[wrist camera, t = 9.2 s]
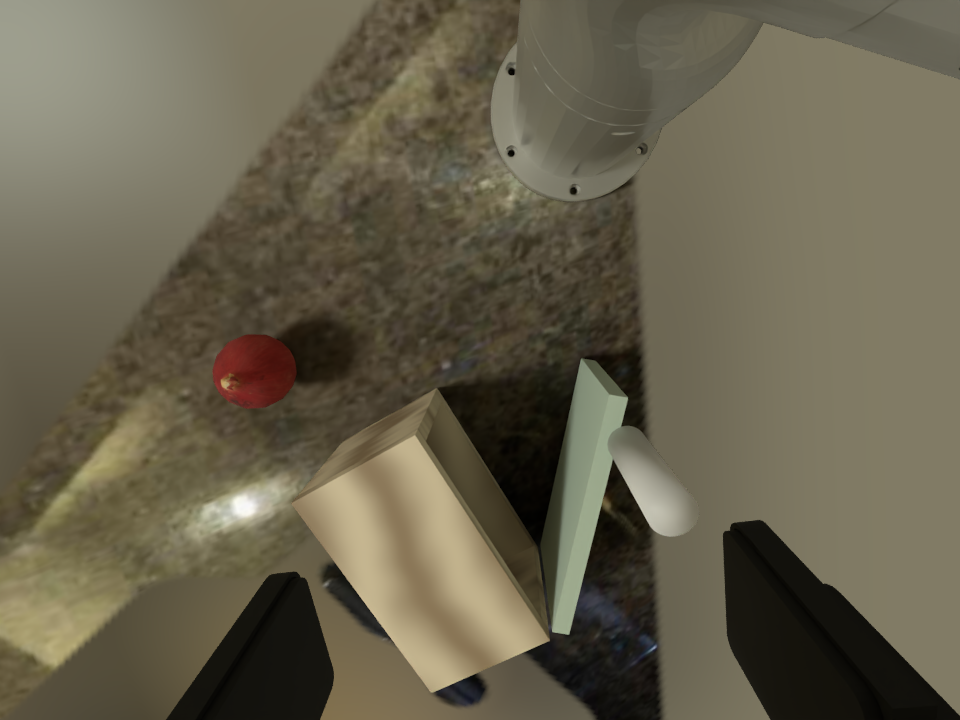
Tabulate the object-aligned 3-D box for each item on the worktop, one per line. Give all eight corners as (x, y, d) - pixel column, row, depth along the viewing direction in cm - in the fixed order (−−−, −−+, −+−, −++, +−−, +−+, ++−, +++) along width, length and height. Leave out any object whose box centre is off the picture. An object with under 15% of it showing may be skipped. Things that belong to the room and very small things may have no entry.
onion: (300, 402, 40) (252, 437, 32) (238, 378, 40) (175, 408, 32) (319, 342, 39) (274, 364, 31) (256, 317, 39) (194, 333, 31)
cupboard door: (616, 364, 38) (716, 459, 20) (572, 549, 42) (623, 761, 25) (581, 358, 38) (650, 448, 20) (540, 544, 42) (568, 751, 25)
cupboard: (437, 387, 39) (415, 435, 29) (537, 547, 43) (549, 640, 32) (343, 440, 41) (291, 503, 31) (447, 591, 44) (431, 693, 34)
